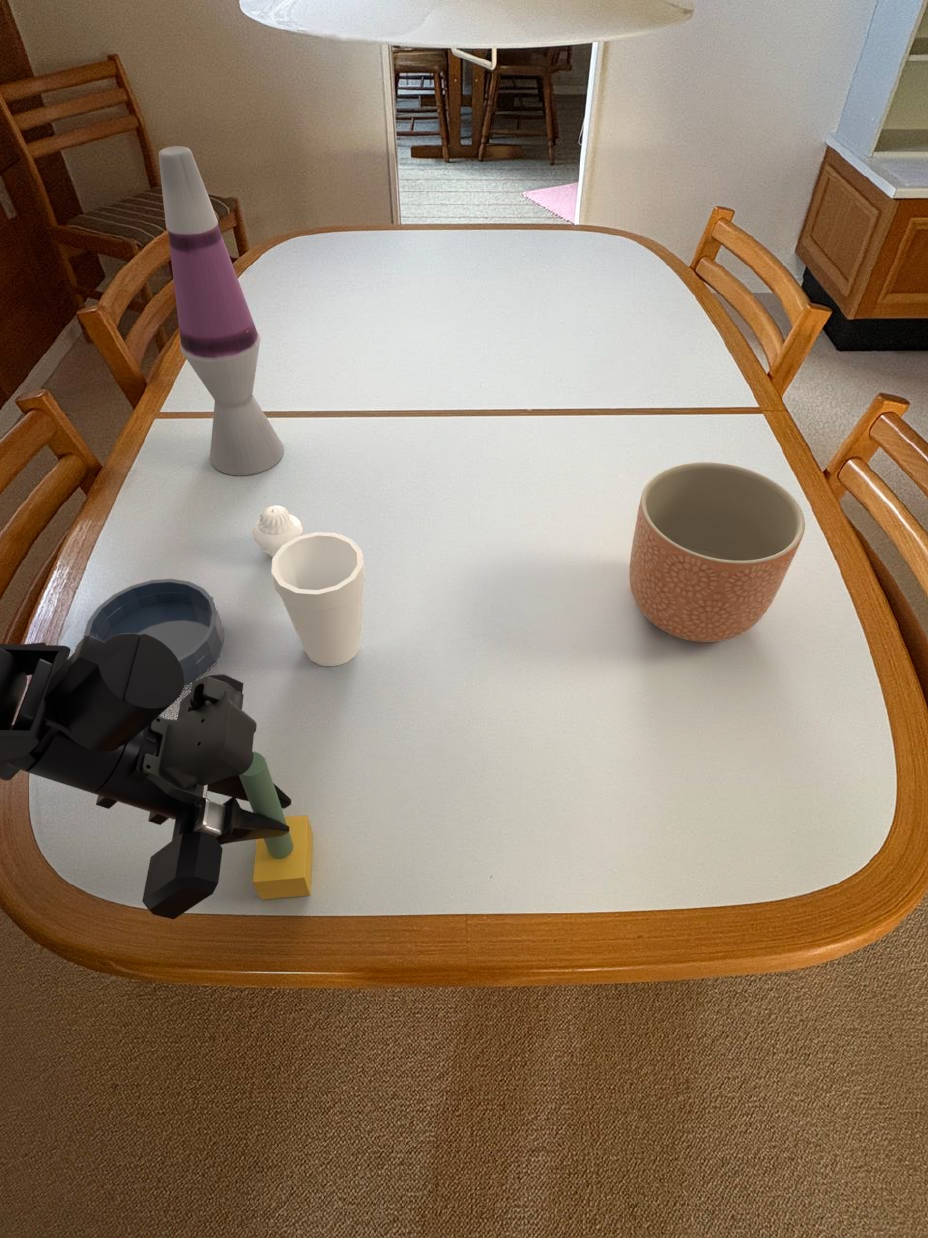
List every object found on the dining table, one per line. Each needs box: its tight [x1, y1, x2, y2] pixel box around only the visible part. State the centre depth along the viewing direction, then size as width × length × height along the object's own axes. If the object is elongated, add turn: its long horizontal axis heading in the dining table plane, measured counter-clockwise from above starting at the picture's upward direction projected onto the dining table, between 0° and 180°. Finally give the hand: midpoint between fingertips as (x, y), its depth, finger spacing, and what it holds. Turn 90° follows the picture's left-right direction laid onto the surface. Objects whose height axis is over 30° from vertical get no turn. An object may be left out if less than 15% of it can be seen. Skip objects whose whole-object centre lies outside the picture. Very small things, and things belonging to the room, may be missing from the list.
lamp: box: [158, 145, 285, 477], centre depth 101 cm, size 11×11×40 cm
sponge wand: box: [239, 751, 314, 901], centre depth 66 cm, size 4×6×17 cm
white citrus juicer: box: [252, 505, 304, 558], centre depth 98 cm, size 6×6×7 cm
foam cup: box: [270, 531, 366, 667], centre depth 85 cm, size 10×9×13 cm
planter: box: [628, 461, 806, 643], centre depth 89 cm, size 17×17×15 cm
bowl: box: [82, 578, 225, 686], centre depth 89 cm, size 14×14×4 cm
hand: (287, 818), depth 66 cm, fingers closed on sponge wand, 2 cm apart
